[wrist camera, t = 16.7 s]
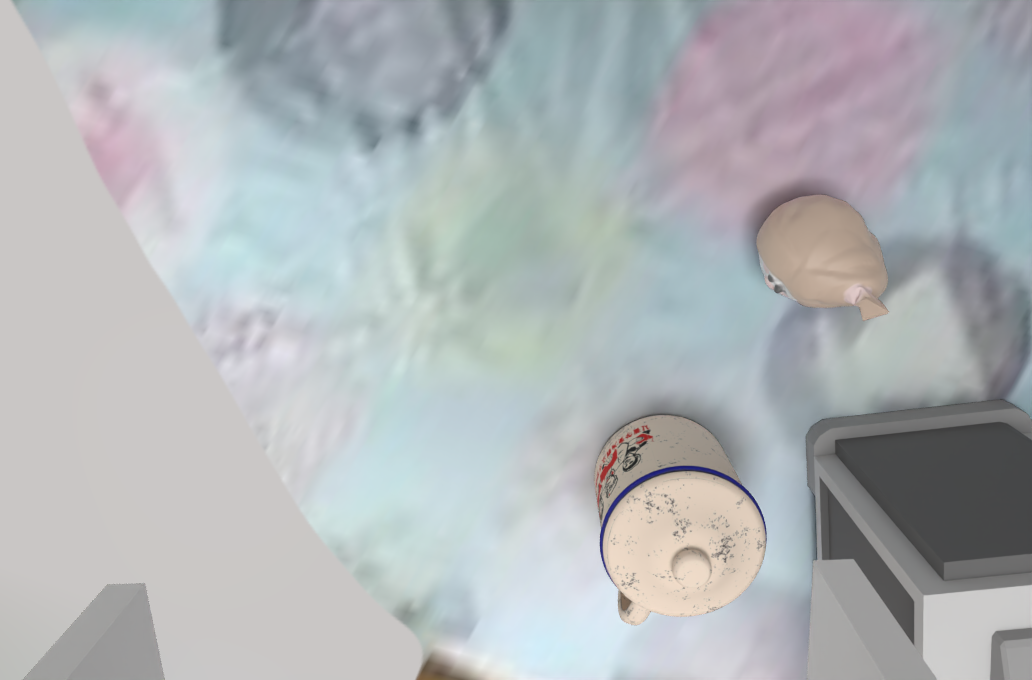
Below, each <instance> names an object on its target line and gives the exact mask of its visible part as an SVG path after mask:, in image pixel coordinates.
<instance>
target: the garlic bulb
mask: <svg viewBox="0 0 1032 680" xmlns="http://www.w3.org/2000/svg"><path fill="white" fill-rule="evenodd" d="M756 244H757V249H758V252H759V261H760V266H761V269H762V272H763V275H764V279H765V282H766V284H767V286H768V287H769V288H770V289H772V290H774V291H775V292H776V293H780V294H781V295H783V296H785V297H788V298H790V299H792V300H795V301H797V302H798V303H799V304H801V305H803V306H806V307H814V308H832V307H841V306H858V307H859V308H860V312H861V315H862V319H863V321H865V320H868V319H871V318H874V317H878V316H881V315H884V314H887V313H888V312H889V311H888V310H887V308H886V307H885V306H884V304H883V303H882V302H881V301H880V300H879V299H877V298H878V297H879V296H880V295H881V294H882V293H883V292H884V291H885V289H886V287H887V284H888V276H887V270H886V267H885V265H884V259H883V255H882V251H881V247H880V244H879V242H878V240H877V238H876V237H875V236H874V235H873V234H872V233H870V232H869V231H868V228H867V226H866V225H865V222H864V220H863V218H862V216H861V215H860V214H859V213H858V212H857V211H855V210H854V209H853V208H852V207H851V206H850V205H849V204H848V203H847V202H845V201H843V200H839V199H835V198H832V197H830V196H828V195H811V196H803V197H798V198H796V199H793V200H791V201H788V202H786V203H784V204H782V205H780V206H779V207H777V208H776V209H775V210H774V211H773V212H772V213H771V214H770V215H769V217H768V218H767V219H766V221H765V222H764V223H763V225H762V227H761V228H760V230H759V232H758V235H757V242H756Z"/></svg>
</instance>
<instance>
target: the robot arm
mask: <svg viewBox="0 0 1032 680" xmlns="http://www.w3.org/2000/svg"><path fill="white" fill-rule="evenodd" d="M23 680H165V678H164V674H163V669H162V664H161V659H160V654H159V649H158V645H157V639H156V635H155V630H154V625H153V620H152V615H151V611H150V605H149V601H148V596H147V591H146V586H145V583H142V584H141V583H139V584H109V585H106V586H105V588H104V589H103V590H102V591H101V592H100V593H99V594H98V595H97V597H96V598H95V599H94V600H93V601H92V602H91V603H90V605H89V606H88V607H87V608H86V609H85V610H84V611H83V612H82V613H81V615H80V616H79V617H78V618H77V619H76V620H75V621H74V622H73V624H72V625H71V626H70V627H69V628H68V629H67V630H66V631H65V633H64V634H63V635H62V636H61V637H60V638H59V639H58V640H57V642H56V643H55V644H54V645H53V646H52V647H51V648H50V649H49V651H48V652H47V653H46V654H45V655H44V656H43V657H42V658H41V660H40V661H39V662H38V663H37V664H36V665H35V666H34V667H33V669H32V670H31V671H30V672H29V673H28V674H27V675H26V676H25V677H24V679H23ZM807 680H937V678H936V677H935V675H934V674H933V672H932V671H931V670H930V668H929V667H928V665H927V664H926V662H925V661H924V659H923V658H922V657H921V655H920V654H919V652H918V651H917V649H916V648H915V647H914V645H913V644H912V642H911V641H910V639H909V638H908V636H907V635H906V634H905V632H904V631H903V629H902V628H901V626H900V625H899V624H898V622H897V621H896V619H895V618H894V616H893V615H892V614H891V612H890V611H889V609H888V608H887V606H886V605H885V603H884V602H883V601H882V599H881V598H880V596H879V595H878V593H877V592H876V591H875V589H874V588H873V586H872V585H871V583H870V582H869V580H868V579H867V578H866V576H865V575H864V573H863V572H862V570H861V569H860V568H859V566H858V565H857V563H856V562H855V560H854V559H841V560H813V575H812V594H811V612H810V630H809V649H808V667H807Z"/></svg>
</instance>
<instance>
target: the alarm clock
mask: <svg viewBox="0 0 1032 680" xmlns="http://www.w3.org/2000/svg"><path fill="white" fill-rule="evenodd" d="M806 457H807V485H808V487H809V488H810V490H811V491H812V493H813V494H814V495H815V500H816V530H817V560H841V559H854V560H855V562H856V563H857V565H858V566H859V568H860V569H861V570H862V572H863V573H864V575H865V576H866V578H867V579H868V580H869V582H870V583H871V585H872V586H873V588H874V589H875V591H876V592H877V593H878V595H879V596H880V598H881V599H882V601H883V602H884V603H885V605H886V606H887V608H888V609H889V611H890V612H891V614H892V615H893V616H894V618H895V619H896V621H897V622H898V624H899V625H900V626H901V628H902V629H903V631H904V632H905V634H906V635H907V636H908V638H909V639H910V641H911V642H912V644H913V645H914V647H915V648H916V649H917V651H918V652H919V654H920V655H921V657H922V658H923V659H924V661H925V662H926V664H927V665H928V667H929V668H930V670H931V671H932V672H933V674H934V675H935V677H936V678H937V680H1032V420H1031V419H1030V417H1029V415H1028V414H1027V413H1026V412H1024V411H1023V410H1021V409H1019V408H1018V407H1016V406H1015V405H1013V404H1011V403H1009V402H1006V401H1004V400H1002V399H1000V400H991V401H982V402H973V403H964V404H955V405H946V406H937V407H928V408H919V409H910V410H901V411H892V412H883V413H874V414H865V415H856V416H847V417H838V418H829V419H822V420H821V421H819V422H818V423H816V424H815V425H813V426H812V427H811V428H810V430H809V431H808V433H807V435H806Z"/></svg>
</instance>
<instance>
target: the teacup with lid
mask: <svg viewBox="0 0 1032 680" xmlns="http://www.w3.org/2000/svg"><path fill="white" fill-rule="evenodd" d="M594 482H595V490H596V497H597V504H598V510H599V517H600V523H601V534H600V552H601V557H602V561H603V564H604V567H605V569H606V572H607V574H608V575H609V577H610V579H611V580H612V582H613V583H614V584H615V586H616V587H617V588H618V589H619V591H618V611H619V615H620V618H621V619H622V620H623V621H624V622H626V623H628V624H631V625H639V624H641V623H642V622H644V621H645V620H646V618H647V617H648V615H649V614H650V612H651V611H652V612H655V613H658V614H662V615H667V616H676V617H687V616H696V615H701V614H706V613H709V612H712V611H715V610H717V609H719V608H722V607H723V606H725V605H727V604H729V603H730V602H732V601H733V600H735V599H736V598H737V597H738V596H740V595H741V594H742V593H743V592H744V591H745V590H746V589H747V588H748V586H749V585H750V584H751V583H752V581H753V580H754V579H755V577H756V575H757V573H758V572H759V569H760V567H761V565H762V562H763V559H764V555H765V549H766V540H767V538H766V525H765V521H764V517H763V515H762V512H761V510H760V508H759V506H758V504H757V502H756V501H755V499H754V498H753V496H752V495H751V494H750V493H749V492H748V491H747V490H746V489H745V488H744V487H743V485H742V484H741V482H740V480H739V478H738V476H737V474H736V472H735V471H734V469H733V467H732V465H731V463H730V461H729V460H728V458H727V456H726V454H725V452H724V450H723V448H722V447H721V445H720V444H719V442H718V441H717V439H716V438H715V437H714V436H713V435H712V434H711V433H710V432H709V431H708V430H706V429H705V428H704V427H702V426H701V425H699V424H697V423H696V422H694V421H691V420H689V419H686V418H682V417H678V416H671V415H657V416H650V417H645V418H642V419H639V420H636V421H634V422H632V423H630V424H628V425H626V426H625V427H623V428H622V429H620V430H619V431H618V432H616V433H615V434H614V435H613V436H612V437H611V438H610V439H609V441H608V442H607V443H606V444H605V446H604V448H603V449H602V451H601V453H600V455H599V458H598V460H597V464H596V468H595V477H594Z"/></svg>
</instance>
